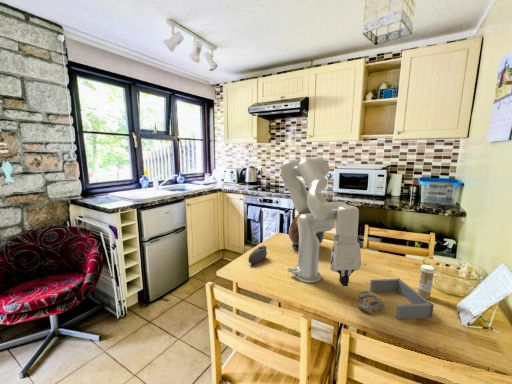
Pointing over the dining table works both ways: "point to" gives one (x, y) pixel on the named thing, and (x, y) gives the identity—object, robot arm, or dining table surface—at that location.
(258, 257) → the perforated stone tool
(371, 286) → the box
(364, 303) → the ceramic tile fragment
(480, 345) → the dining table surface
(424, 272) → the sprinkles bottle
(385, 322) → the dining table surface
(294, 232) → the amphora vase
